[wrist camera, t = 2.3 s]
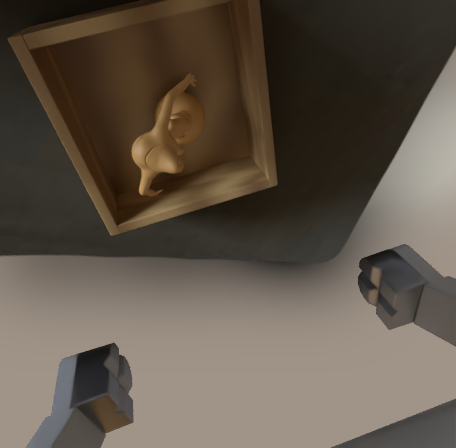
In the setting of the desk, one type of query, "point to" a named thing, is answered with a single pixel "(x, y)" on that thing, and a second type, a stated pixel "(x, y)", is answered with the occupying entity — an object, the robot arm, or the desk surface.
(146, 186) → the figurine
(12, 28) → the desk surface
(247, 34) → the wooden tray
